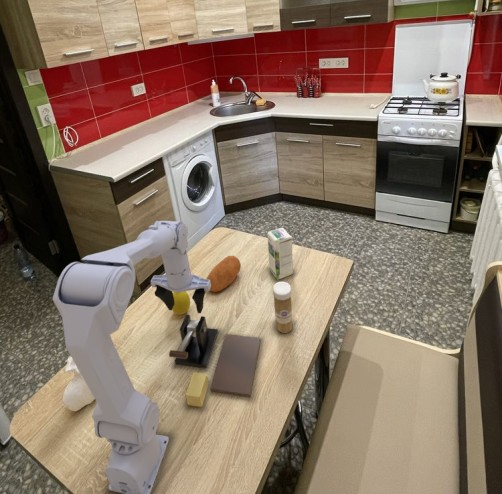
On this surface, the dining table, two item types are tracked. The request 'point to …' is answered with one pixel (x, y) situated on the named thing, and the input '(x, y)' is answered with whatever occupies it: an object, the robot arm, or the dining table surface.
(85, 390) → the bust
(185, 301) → the lemon
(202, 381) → the butter
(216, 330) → the slicer
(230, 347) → the board
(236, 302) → the dining table surface
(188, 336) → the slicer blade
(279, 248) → the syrup box
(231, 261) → the potato
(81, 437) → the dining table surface
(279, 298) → the sprinkles bottle
